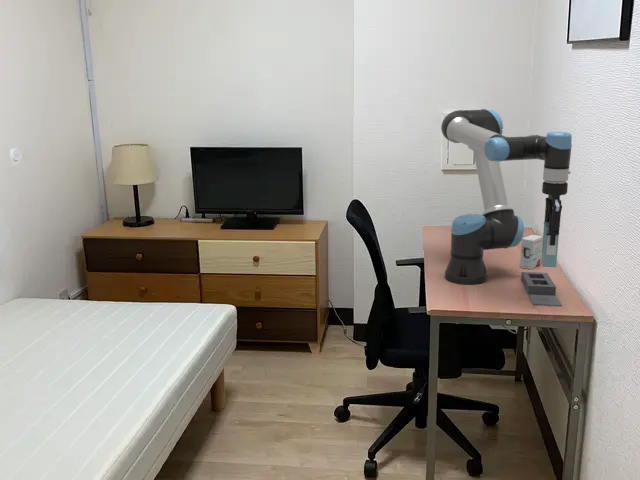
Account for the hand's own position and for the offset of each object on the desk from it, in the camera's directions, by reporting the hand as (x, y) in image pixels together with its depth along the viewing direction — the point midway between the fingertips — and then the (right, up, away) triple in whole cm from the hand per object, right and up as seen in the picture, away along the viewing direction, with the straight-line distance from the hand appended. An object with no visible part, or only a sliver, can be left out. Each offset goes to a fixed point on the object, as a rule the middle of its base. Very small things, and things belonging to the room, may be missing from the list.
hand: (549, 252), depth 207 cm
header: (+2, -13, +18) cm, 22 cm away
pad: (0, -16, +4) cm, 17 cm away
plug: (0, -4, +1) cm, 4 cm away
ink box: (+8, -7, +42) cm, 43 cm away
